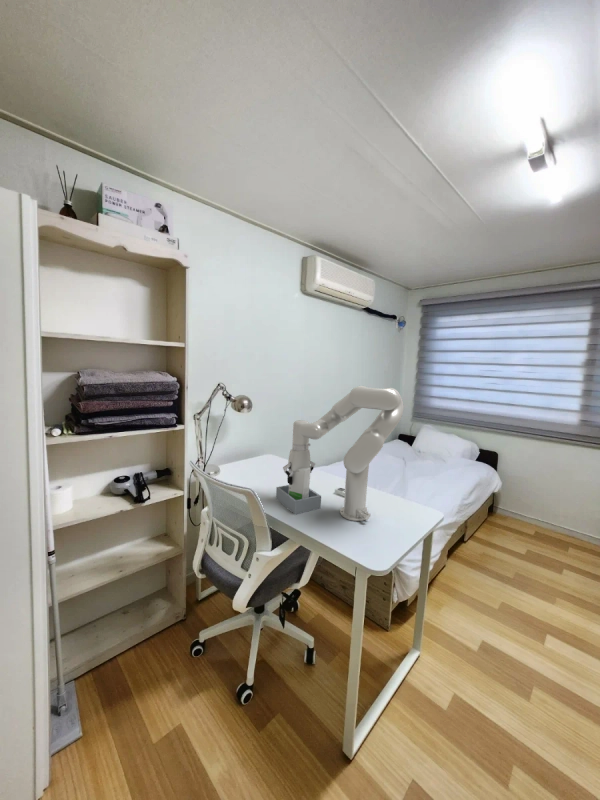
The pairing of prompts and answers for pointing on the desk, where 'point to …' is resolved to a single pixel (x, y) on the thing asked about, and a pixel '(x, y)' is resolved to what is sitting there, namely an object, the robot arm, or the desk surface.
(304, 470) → the skincare box
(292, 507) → the tote
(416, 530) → the desk surface
